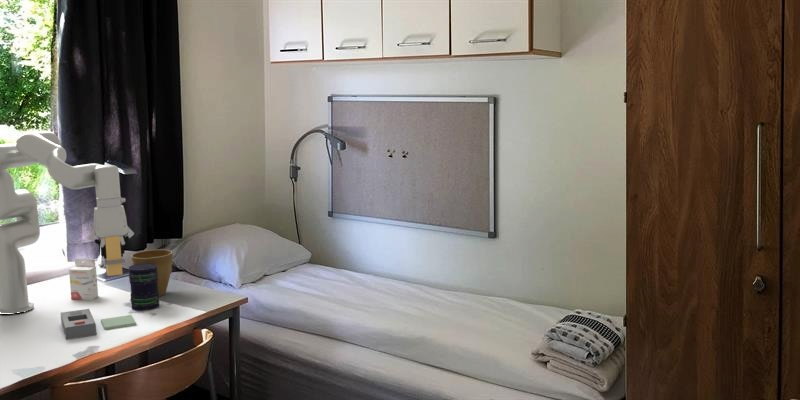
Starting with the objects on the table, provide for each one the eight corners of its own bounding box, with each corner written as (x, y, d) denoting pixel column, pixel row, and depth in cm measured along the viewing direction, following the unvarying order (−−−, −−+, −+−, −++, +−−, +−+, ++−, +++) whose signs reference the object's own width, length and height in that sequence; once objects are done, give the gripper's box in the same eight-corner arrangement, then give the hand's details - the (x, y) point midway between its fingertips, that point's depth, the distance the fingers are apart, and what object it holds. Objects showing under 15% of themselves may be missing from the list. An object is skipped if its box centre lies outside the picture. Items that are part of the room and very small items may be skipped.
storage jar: (126, 307, 283) (123, 266, 280) (151, 301, 289) (149, 261, 287) (139, 312, 276) (136, 271, 273) (164, 306, 282) (162, 266, 280)
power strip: (61, 324, 264) (60, 310, 264) (89, 319, 268) (88, 306, 268) (66, 339, 249) (65, 325, 248) (96, 334, 253) (95, 321, 252)
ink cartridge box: (70, 299, 293) (67, 261, 291) (77, 295, 298) (74, 258, 296) (92, 299, 292) (89, 261, 290) (98, 296, 297) (95, 258, 295)
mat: (100, 321, 266) (100, 319, 266) (131, 317, 271) (131, 314, 271) (104, 329, 258) (104, 327, 257) (136, 324, 262) (136, 322, 262)
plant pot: (181, 289, 305) (178, 249, 302) (166, 300, 290) (163, 258, 288) (144, 288, 306) (141, 248, 304) (127, 299, 292) (124, 257, 289)
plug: (103, 272, 263) (100, 234, 261) (123, 270, 266) (120, 232, 263) (105, 277, 257) (102, 238, 255) (126, 274, 260) (123, 236, 258)
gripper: (133, 199, 265) (137, 251, 268) (80, 203, 257) (84, 258, 260) (137, 202, 258) (141, 256, 261) (82, 207, 250) (87, 262, 253)
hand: (113, 256), depth 260 cm, fingers closed on plug, 4 cm apart
